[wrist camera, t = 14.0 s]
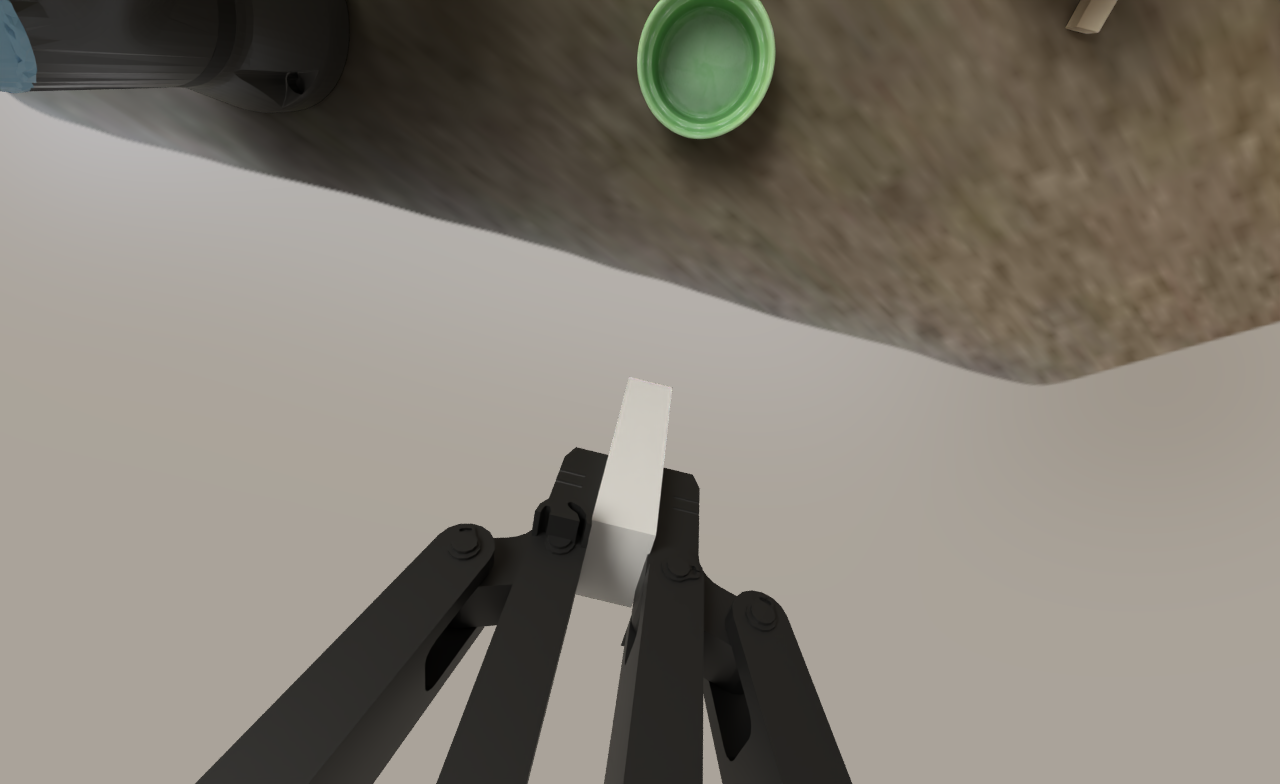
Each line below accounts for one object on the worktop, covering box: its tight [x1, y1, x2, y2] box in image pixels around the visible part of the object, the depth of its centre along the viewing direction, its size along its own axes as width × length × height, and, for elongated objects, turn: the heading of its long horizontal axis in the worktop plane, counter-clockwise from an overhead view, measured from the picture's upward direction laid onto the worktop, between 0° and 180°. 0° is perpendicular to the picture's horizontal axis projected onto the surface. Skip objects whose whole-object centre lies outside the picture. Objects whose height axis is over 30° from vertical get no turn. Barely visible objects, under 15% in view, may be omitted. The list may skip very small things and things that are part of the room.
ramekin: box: [637, 0, 775, 139], centre depth 35 cm, size 9×9×4 cm
